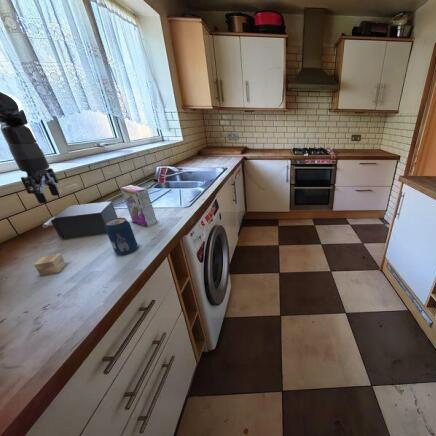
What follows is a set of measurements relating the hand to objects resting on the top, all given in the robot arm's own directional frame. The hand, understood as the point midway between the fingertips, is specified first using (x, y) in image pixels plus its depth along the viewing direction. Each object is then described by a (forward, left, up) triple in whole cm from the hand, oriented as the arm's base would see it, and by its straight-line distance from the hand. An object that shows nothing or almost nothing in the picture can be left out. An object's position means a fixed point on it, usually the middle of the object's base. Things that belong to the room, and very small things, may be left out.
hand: (50, 198), depth 88 cm
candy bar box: (+29, -1, -15) cm, 32 cm away
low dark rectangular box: (+10, -1, -15) cm, 18 cm away
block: (+9, -29, -15) cm, 34 cm away
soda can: (+28, -24, -15) cm, 39 cm away
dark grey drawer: (+5, -1, -14) cm, 15 cm away
